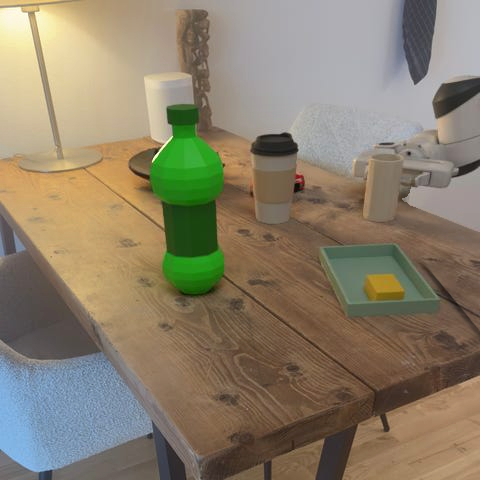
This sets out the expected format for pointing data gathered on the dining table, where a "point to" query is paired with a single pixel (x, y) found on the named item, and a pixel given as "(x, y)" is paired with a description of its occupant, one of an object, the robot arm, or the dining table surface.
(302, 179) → the race car
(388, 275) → the sponge
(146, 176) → the oil lamp
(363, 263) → the tray
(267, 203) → the coffee cup
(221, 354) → the dining table surface
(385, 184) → the cup
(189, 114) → the plastic bottle
